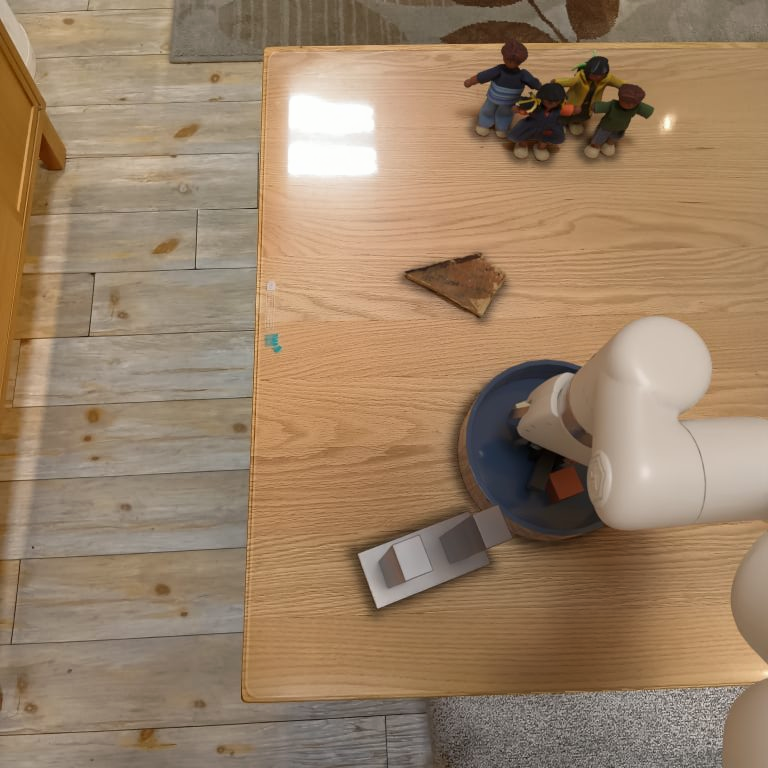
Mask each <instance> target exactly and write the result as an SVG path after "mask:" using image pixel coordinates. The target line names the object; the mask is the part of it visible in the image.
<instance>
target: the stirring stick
mask: <svg viewBox="0 0 768 768" xmlns="http://www.w3.org/2000/svg"><path fill="white" fill-rule="evenodd" d="M556 454H557V453H555V452H553V451H551V450H548V449H546V448H545V451H544V453H543V455H541V456H539V457H538V458H537V459H536V462H535V465H534V468H533V470H532V473H531V476H530V478H529V481H528V484H527V486H526V487H527V488H529V489H531V490H533V491H535V492H538V493H541V492H543V491H544V489H545V486H546V484H547V481H548V478H549V475H550V473H551V470H552V467H553V464H554V460H555V457H556Z"/></svg>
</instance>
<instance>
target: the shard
mask: <svg viewBox="0 0 768 768" xmlns="http://www.w3.org/2000/svg"><path fill="white" fill-rule="evenodd" d="M404 274H406V276H407V279H408V280H411V281H414V282H415V283H417V284H419V285H421V286H424V287H426V288H428V289H430V290H432V291H434V292H436V293H438V294H439V295H442V296H445V297H446V298H448V299H450V300H451V301H453V302H455V303H457V304H458V305H459V306H461V307H462V308H464V309H466V310H468V311H470V312H472V313H473V314H475V315H477V316H478V317H480V318H483V316H484V313H485V312H486V310H487V308H488V307H489V305H490V304H491V302H492V300H493V298H494V297H495V295H496V293H498V291H499V290H500V288H502V285H503V283H504V282H505V280H506V279H507V275H508V273H507V272H506V271H504V270H503V269H501V268H500V267H497V266H496V265H494V264H493V263H491V262H490V261H489V260H488V259H486V257H484V255H483V253H482V252H478V253H474V254H468V255H464V256H463V257H455V258H452V259H446V260H443V261H439V262H435V263H432V264H429V265H426V266H423V267H419V268H411V269H409V270H405V271H404Z"/></svg>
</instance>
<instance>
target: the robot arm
mask: <svg viewBox="0 0 768 768" xmlns="http://www.w3.org/2000/svg"><path fill="white" fill-rule="evenodd" d="M712 361H713V360H712V357H711V353H710V351H709V349H708V346H707V345H706V343H705V341H704V339H702V337H701V336H700V335H699V334H698V333H697V332H696V330H694V328H692V327H691V326H689V325H687V324H686V323H684V322H682V321H680V320H678V319H677V318H673V317H669V316H664V315H647V316H642V317H640V318H637V319H634V320H632V321H630V322H628V323H627V324H625V325H623V327H622V328H620V329H619V330H618V331H617V332H615V334H614V335H612V337H611V338H610V339H609V340H608V341H607V342H605V344H604V345H602V347H600V348H599V349H598V351H596V353H594V354H593V356H592V357H590V358H589V360H588V361H586V362H585V363H584V364H583V365H582V366H581V367H582V368H581V369H580V370H579V371H577V372H576V373H575V374H573V373H563V374H560V375H557V376H554V377H552V378H550V379H548V380H547V381H545V382H544V383H542V384H541V385H540V386H538V387H537V388H536V389H535V390H534V391H532V392H531V394H530V395H529V397H528V399H527V401H526V403H528V404H530V406H527V407H522V408H518V409H513V410H511V412H510V415H509V417H508V420H507V421H508V422H509V423H511V424H513V425H514V426H516V427H517V431H518V433H519V434H520V436H522V437H523V438H525V439H527V440H529V442H528V444H527V449H529V450H531V451H530V454H529V456H528V460H530V461H535V460H536V459H537V458H538V457H539V456H541V455H543V453H544V451H545V448H546V449H548V450H551V451H553V452H555V453H557V454H556V457H555V460H554V464H553V467H552V469H554V468H555V467H557V466H558V465H560V464H564V463H565V462H566V463H569V464H574V463H576V462H578V463H581V464H583V465H585V466H588V471H587V488H588V493H589V497H590V500H591V502H592V504H593V505H594V508H595V511H596V512H597V514H598V516H599V518H600V519H601V520H602V521H603V522H604V523H605V524H606V525H607V526H608V527H610V528H612V529H615V530H619V531H628V532H629V531H631V532H632V531H634V532H635V531H647V530H660V529H669V528H670V529H671V528H680V527H681V528H682V527H691V526H701V525H702V526H703V525H711V524H713V525H714V524H726V523H727V524H728V523H740V522H742V523H743V522H753V521H758V522H759V521H760V522H764V523H766V524H768V418H766V417H765V418H764V417H759V416H748V415H747V416H746V415H736V416H735V415H734V416H715V417H704V418H702V417H701V418H691V419H679V417H680V415H682V414H684V413H685V412H687V411H689V410H690V409H691V408H693V407H694V406H696V404H698V403H700V401H701V400H702V399H703V397H704V396H705V395H706V393H707V391H708V390H709V387H710V385H711V381H712V377H713V362H712ZM606 525H605V526H606ZM730 589H731V590H730V610H731V613H732V618H733V620H734V623H735V626H736V628H737V630H738V632H739V634H740V635H741V637H742V638H743V639H744V641H745V642H746V643H747V645H748V646H749V648H751V649H752V650H753V651H754V652H755V654H757V655H758V656H759V657H760V658H761V660H762V661H764V663H765V664H766V665H767V666H768V530H767V531H765V532H764V533H763V534H761V535H760V536H759V537H758V538H757V539H756V540H755V542H754V543H753V544H752V545H751V546H750V547H749V548H748V549H747V551H746V553H745V554H744V556H743V557H742V559H741V561H740V563H739V565H738V566H737V568H736V571H735V574H734V577H733V580H732V584H731V588H730ZM722 732H723V733H722V745H721V746H722V748H721V764H722V768H768V677H766V678H763V679H761V680H758V681H755V682H754V683H752V684H751V685H749V686H748V687H746V688H745V689H744V690H743V691H742V692H741V693H740V694H739V695H738V696H737V698H736V699H734V701H733V702H732V704H731V706H730V708H729V710H728V713H727V716H726V719H725V722H724V725H723V731H722Z"/></svg>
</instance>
